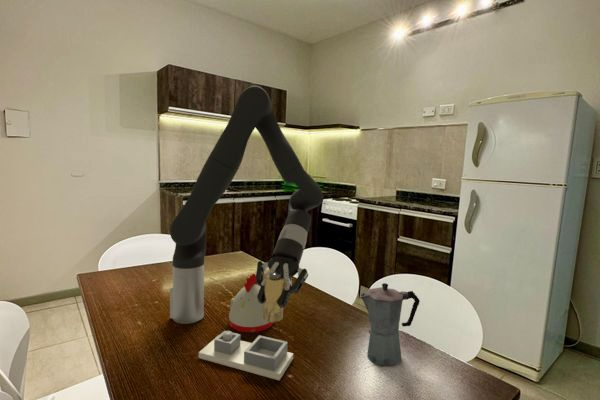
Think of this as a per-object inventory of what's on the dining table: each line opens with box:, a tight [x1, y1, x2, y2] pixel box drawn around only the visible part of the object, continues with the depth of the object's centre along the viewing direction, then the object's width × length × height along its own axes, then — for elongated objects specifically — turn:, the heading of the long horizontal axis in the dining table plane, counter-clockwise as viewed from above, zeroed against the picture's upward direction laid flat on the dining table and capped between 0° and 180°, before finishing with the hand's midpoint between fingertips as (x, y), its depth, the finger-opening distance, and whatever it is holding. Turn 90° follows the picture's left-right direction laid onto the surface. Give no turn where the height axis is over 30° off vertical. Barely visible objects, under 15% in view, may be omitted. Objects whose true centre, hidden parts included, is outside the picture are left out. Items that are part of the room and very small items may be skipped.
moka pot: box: [359, 282, 421, 367], centre depth 85 cm, size 10×15×20 cm, turn 95°
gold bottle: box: [263, 272, 285, 323], centre depth 80 cm, size 5×5×11 cm
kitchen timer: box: [228, 273, 274, 333], centre depth 101 cm, size 14×14×15 cm
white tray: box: [198, 330, 294, 381], centre depth 82 cm, size 22×9×6 cm, turn 71°
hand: (270, 304), depth 79 cm, fingers closed on gold bottle, 4 cm apart
